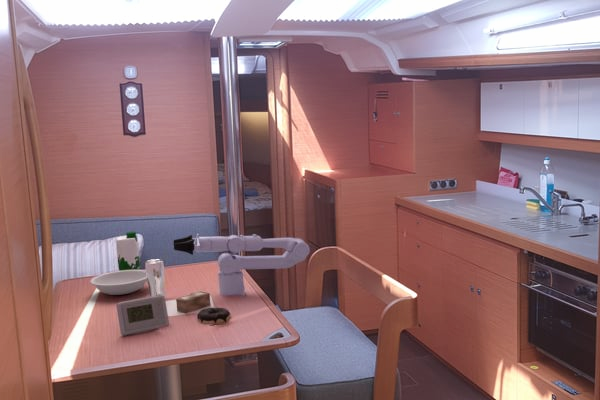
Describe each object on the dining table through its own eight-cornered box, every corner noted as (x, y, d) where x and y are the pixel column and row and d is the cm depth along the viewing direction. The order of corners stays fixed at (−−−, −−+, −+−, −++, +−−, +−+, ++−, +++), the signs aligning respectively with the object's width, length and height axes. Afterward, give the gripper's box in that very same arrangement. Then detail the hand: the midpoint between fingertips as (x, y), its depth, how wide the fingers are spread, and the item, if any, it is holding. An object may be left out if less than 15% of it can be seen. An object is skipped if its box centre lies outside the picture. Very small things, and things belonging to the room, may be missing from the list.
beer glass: (162, 302, 259) (158, 263, 257) (145, 302, 260) (141, 263, 258) (169, 296, 266) (166, 258, 263) (152, 296, 267) (149, 259, 265)
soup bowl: (149, 281, 291) (148, 266, 290) (156, 295, 268) (154, 279, 267) (90, 290, 284) (89, 274, 283) (92, 305, 261) (90, 288, 260)
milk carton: (139, 279, 296) (135, 234, 293) (118, 281, 295) (113, 235, 292) (142, 274, 304) (137, 230, 302) (121, 276, 304) (116, 232, 301)
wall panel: (211, 298, 260) (210, 287, 259) (215, 313, 240) (214, 302, 240) (152, 305, 256) (151, 294, 255) (151, 321, 236) (150, 310, 236)
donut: (203, 329, 225) (202, 317, 224) (193, 320, 236) (192, 308, 235) (235, 322, 229) (234, 311, 229) (223, 314, 240) (222, 302, 240)
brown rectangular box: (201, 303, 250) (200, 290, 250) (210, 305, 247) (209, 292, 246) (177, 311, 243) (176, 298, 242) (185, 313, 239) (184, 300, 239)
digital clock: (119, 337, 222) (115, 306, 220) (120, 329, 230) (116, 298, 229) (170, 331, 225) (166, 299, 223) (168, 322, 234) (166, 292, 232)
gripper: (209, 230, 265) (173, 230, 262) (211, 237, 251) (174, 237, 248) (209, 248, 266) (173, 249, 263) (211, 256, 251) (174, 257, 249)
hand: (173, 244), depth 255 cm, fingers open, 7 cm apart
